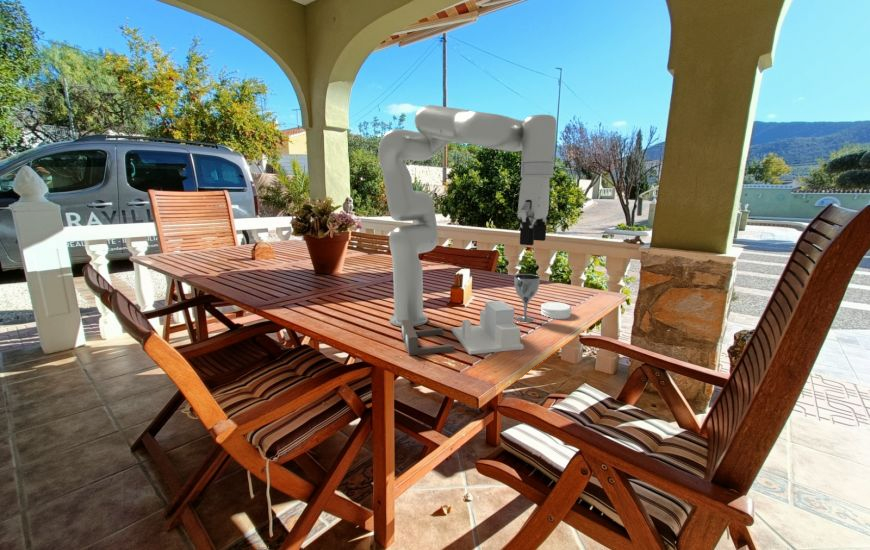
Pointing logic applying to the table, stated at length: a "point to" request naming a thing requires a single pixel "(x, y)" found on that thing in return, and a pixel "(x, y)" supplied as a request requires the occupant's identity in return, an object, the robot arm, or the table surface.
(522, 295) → the wine glass
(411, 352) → the grey frame
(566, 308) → the white round disc
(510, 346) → the stand
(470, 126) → the robot arm
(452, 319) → the table surface
